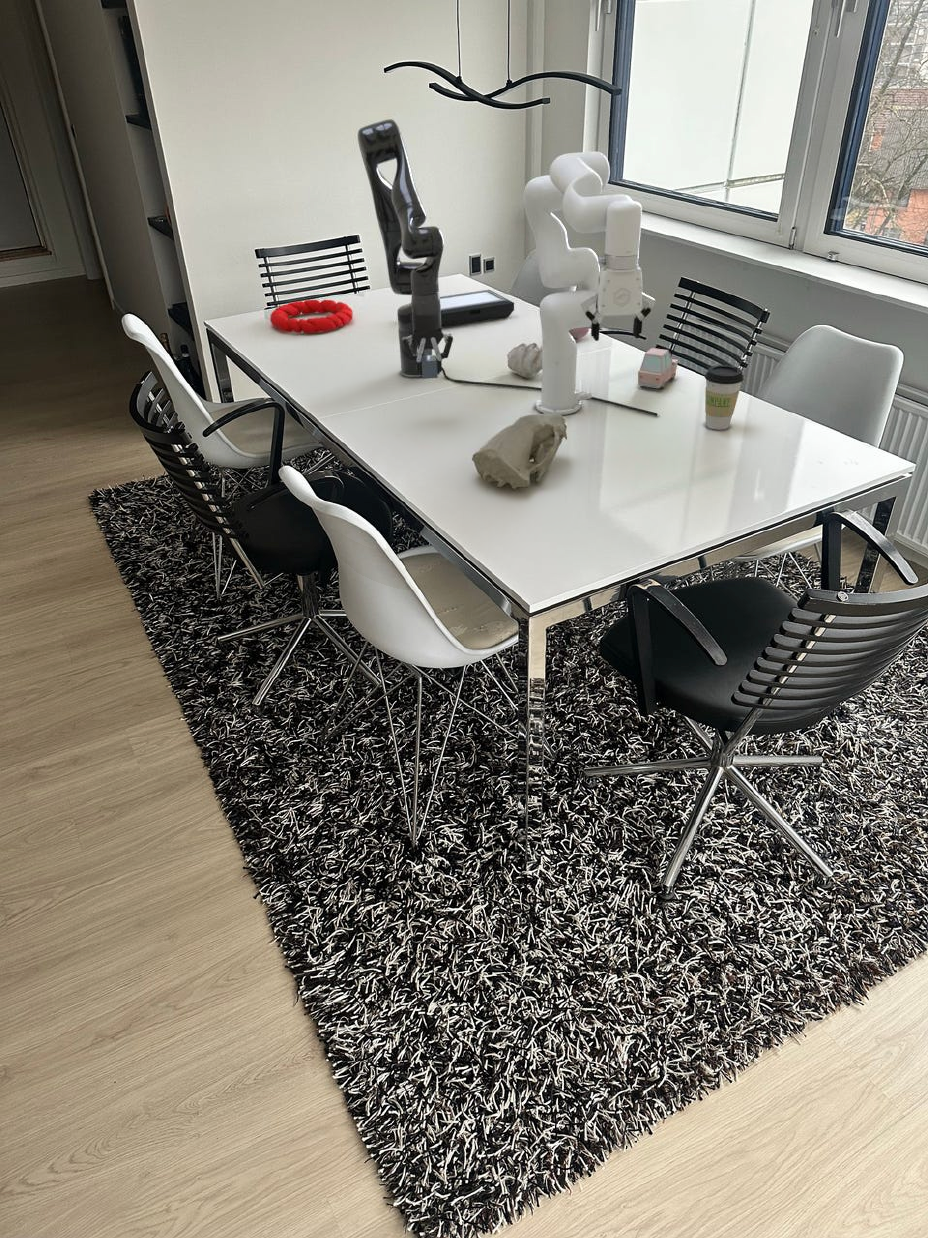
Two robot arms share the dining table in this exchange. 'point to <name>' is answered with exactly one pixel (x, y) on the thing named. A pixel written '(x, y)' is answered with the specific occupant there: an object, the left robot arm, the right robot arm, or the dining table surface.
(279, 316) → the decorative ring
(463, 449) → the dining table surface
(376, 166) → the left robot arm
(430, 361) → the block
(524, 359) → the seashell
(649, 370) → the toy car
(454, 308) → the electronic device
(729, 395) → the coffee cup
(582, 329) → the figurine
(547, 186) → the right robot arm
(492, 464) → the animal skull
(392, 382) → the dining table surface
